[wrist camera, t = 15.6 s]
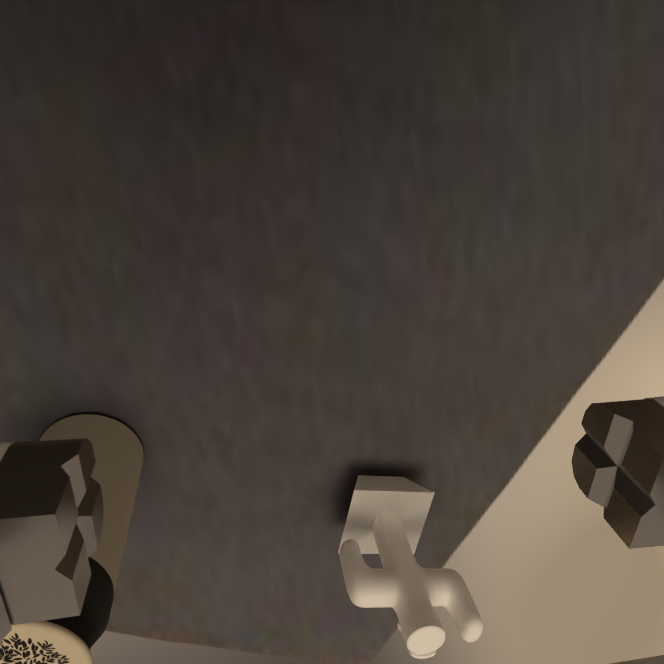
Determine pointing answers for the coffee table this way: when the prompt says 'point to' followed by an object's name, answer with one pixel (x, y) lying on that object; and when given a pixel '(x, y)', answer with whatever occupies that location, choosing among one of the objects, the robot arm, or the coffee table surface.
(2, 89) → the coffee table surface
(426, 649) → the figurine
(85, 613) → the travel mug
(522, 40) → the coffee table surface
